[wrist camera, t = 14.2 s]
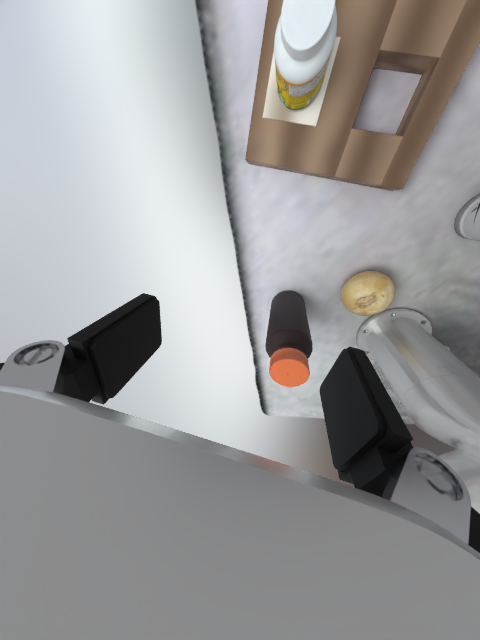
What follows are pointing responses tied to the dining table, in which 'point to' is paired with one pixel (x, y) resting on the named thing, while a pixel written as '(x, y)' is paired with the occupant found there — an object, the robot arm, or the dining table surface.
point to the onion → (368, 293)
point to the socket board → (350, 84)
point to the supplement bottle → (303, 50)
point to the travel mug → (469, 220)
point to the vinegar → (288, 340)
